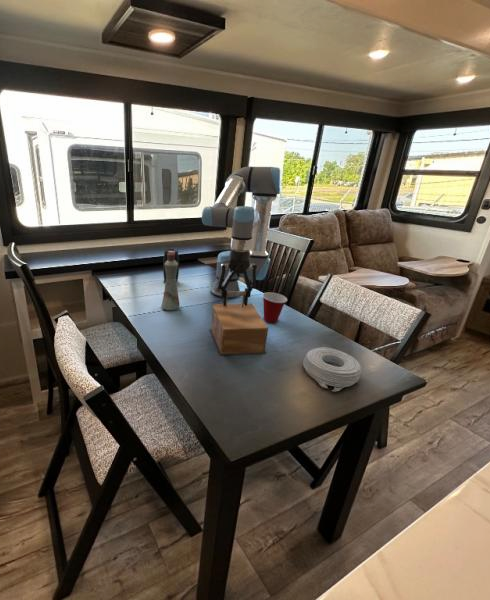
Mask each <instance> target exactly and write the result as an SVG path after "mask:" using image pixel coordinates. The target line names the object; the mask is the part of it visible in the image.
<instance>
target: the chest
mask: <svg viewBox="0 0 490 600" xmlns="http://www.w3.org/2000/svg"><path fill="white" fill-rule="evenodd" d="M210 332H211V333H212V336H213V338H214V341H215V344H216V346H217V348H218V351H219V353H220V355H243V354H245V355H246V354H265V351H266V346H267V340H268V333H269V329H268V330H241V331H223V329H222V327H221V324H220V322H219V320H218V317H217V315H216V312H215V310H214V308H213V309H212V315H211V329H210Z"/></svg>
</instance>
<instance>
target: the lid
mask: <svg viewBox="0 0 490 600" xmlns="http://www.w3.org/2000/svg"><path fill="white" fill-rule="evenodd" d="M228 296H237V297H241V296H242V298H241V303H228V299H229V298H228ZM245 296H246V291H245V290H240V291H227V297H226V306H223V304H222V303H213V304H212V308H213V309H214V310H215V312H216V315H217V317H218V320H219V322H220V324H221V327H222V329H223V331H241V330H268V331H269V327H268V326H267V324H266V321H265V320H264V318H262V316H261V314H260V313H259V311H257V309H256V307H255V306H254V304H253V303H247V306H245V305H244V299H245Z"/></svg>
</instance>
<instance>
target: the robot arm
mask: <svg viewBox="0 0 490 600" xmlns="http://www.w3.org/2000/svg"><path fill="white" fill-rule="evenodd" d="M243 193H251V198H252V199H253V206H247V205H239V206H236V207H234V205H235V204H236V202H237V200H238V198H239V196H240V195H241V194H243ZM281 193H282V170H281V168H280V167H277V166H244V167H241V168H239V169H237V170H235V171H233V172H232V173H231V174H230V175H229V176H228V177H227V178H226V181H225V184H224V187H223V189H222V191H221V192H220V194H219V196H218V197H217V199H216V200H215V202H214V203H213V205H212V206H211V205H210V206H204V207H203V209H202V212H201V222H202V224H203V225H204V226H208V227H218V228H229V229H230V228H231V240H230V250H226V251H221V252H220V253H219V254H218V255H217V261H216V274H215V275H216V276H215V280H214V283H213V285H212V288H211V294H212V295H213V296H215V297H218V298H222V300H221V301H222V303H221V304H223V306H226V297H227V291H241V290H240V286H239V285H240V284H239V278H241V279H242V278H243V281H244V283H245V285H246V287H244V291H246V296H245V299H244V305H245V306H247V304H248V301H249V300H248V299H249V298H251V294H252V291H253V289H254V290H256V289H257V281H263V280H265V279H266V276H267V273H268V271H269V267H270V263H271V258H269V253H268V252H267V243H268V238H269V237H268V236H269V230H270V222H271V216H272V209H273V203H274V201H275V200H276V199H277V197H278V195H280V194H281ZM233 298H238V296H228V299H233Z"/></svg>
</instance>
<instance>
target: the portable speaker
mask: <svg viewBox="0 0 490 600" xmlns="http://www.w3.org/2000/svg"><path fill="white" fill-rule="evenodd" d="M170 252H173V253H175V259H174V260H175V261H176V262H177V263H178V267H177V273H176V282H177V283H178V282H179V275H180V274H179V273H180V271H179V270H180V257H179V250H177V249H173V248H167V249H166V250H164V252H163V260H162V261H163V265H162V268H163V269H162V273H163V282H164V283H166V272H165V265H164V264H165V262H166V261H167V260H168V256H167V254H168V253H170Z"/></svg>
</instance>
